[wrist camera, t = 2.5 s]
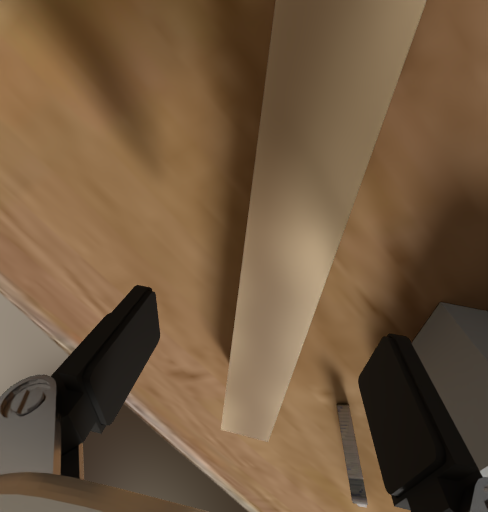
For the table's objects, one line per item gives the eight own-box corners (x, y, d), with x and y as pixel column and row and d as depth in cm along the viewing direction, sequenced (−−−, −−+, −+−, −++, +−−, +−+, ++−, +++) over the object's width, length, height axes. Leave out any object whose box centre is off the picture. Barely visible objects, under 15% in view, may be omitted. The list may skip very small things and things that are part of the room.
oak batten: (381, 7, 9) (458, -88, 5) (273, 377, 22) (268, 442, 17) (290, 0, 10) (287, -96, 5) (235, 368, 22) (220, 429, 18)
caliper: (334, 398, 21) (348, 492, 16) (347, 398, 21) (366, 493, 16) (356, 495, 30) (369, 576, 25) (365, 496, 30) (381, 578, 25)
